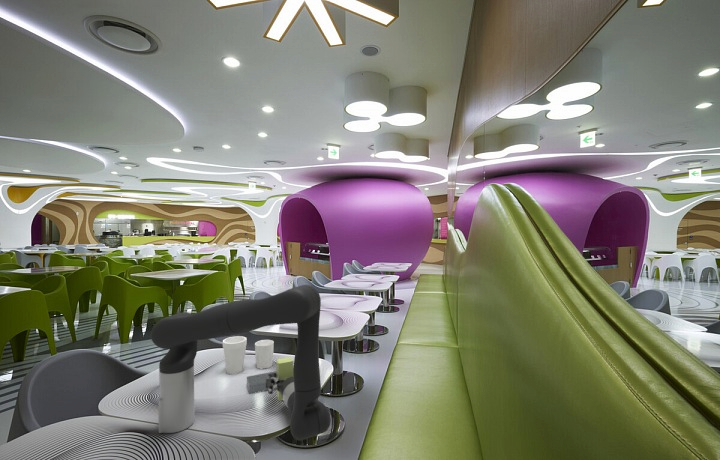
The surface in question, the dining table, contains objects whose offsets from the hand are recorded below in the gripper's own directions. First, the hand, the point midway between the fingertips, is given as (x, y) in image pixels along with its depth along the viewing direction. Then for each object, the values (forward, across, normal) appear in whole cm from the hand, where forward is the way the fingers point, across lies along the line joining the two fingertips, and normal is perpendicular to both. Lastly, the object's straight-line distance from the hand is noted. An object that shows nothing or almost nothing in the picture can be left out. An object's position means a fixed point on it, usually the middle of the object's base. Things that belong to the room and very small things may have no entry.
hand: (283, 373), depth 118 cm
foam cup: (+29, +14, +8) cm, 33 cm away
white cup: (+29, +2, +8) cm, 30 cm away
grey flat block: (+10, 0, +8) cm, 13 cm away
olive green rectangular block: (-2, 0, +8) cm, 8 cm away
